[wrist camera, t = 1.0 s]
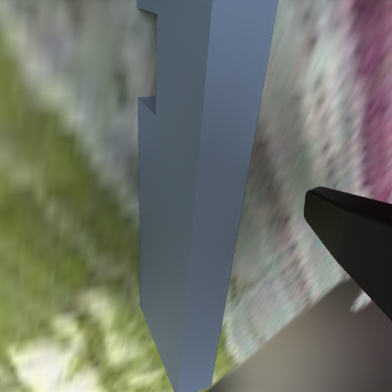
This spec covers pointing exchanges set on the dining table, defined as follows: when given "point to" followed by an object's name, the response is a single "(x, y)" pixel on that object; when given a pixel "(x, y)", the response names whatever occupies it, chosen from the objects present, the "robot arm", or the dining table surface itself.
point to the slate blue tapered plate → (197, 171)
